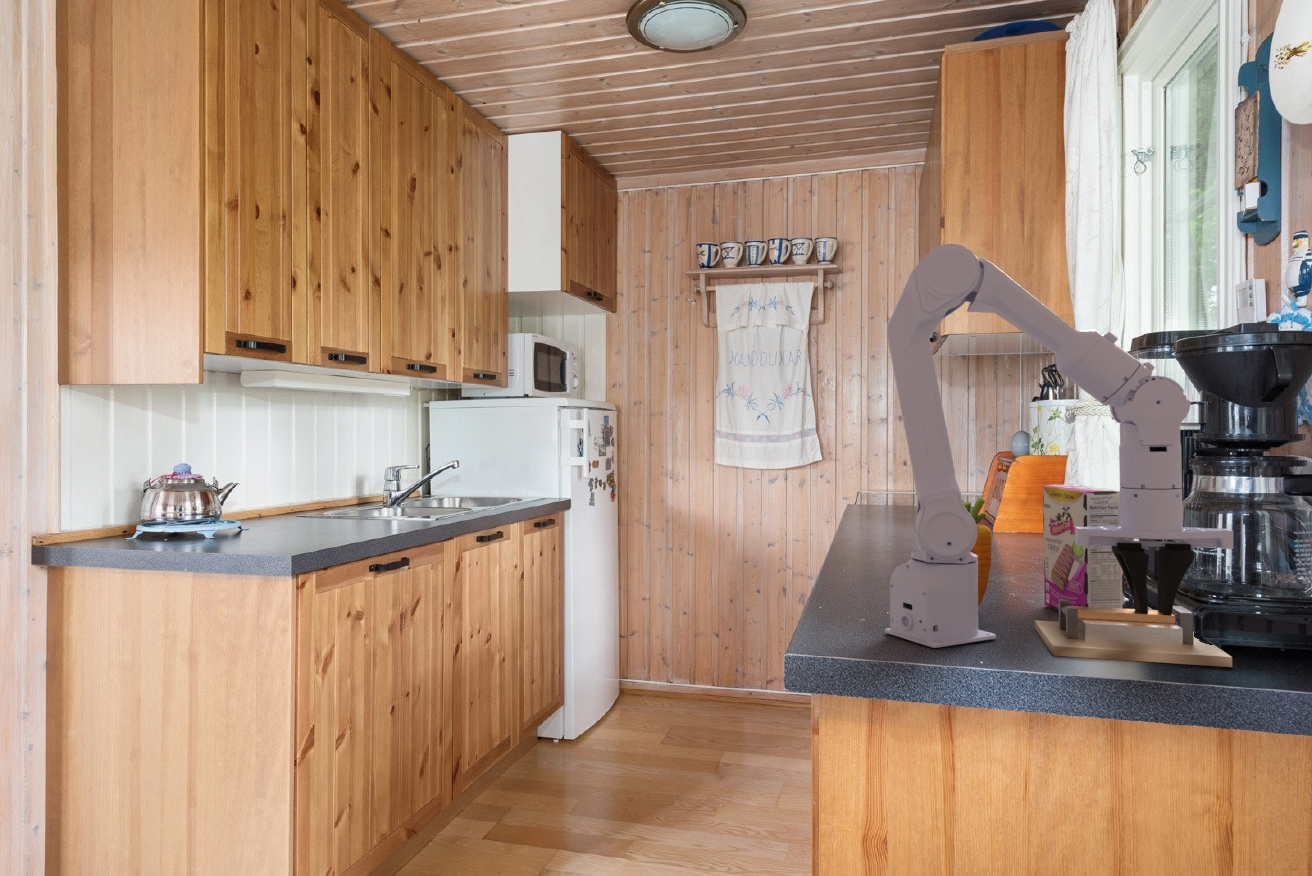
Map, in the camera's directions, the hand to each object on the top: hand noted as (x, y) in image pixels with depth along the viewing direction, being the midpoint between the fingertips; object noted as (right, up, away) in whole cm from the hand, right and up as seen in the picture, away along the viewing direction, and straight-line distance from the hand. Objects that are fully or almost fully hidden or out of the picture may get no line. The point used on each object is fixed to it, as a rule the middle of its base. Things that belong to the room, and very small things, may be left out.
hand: (1152, 613), depth 86 cm
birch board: (-3, -4, +1) cm, 5 cm away
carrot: (-12, -4, +19) cm, 22 cm away
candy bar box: (+1, -4, +16) cm, 16 cm away
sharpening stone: (-3, -4, +1) cm, 5 cm away
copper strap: (-3, -1, +1) cm, 4 cm away
